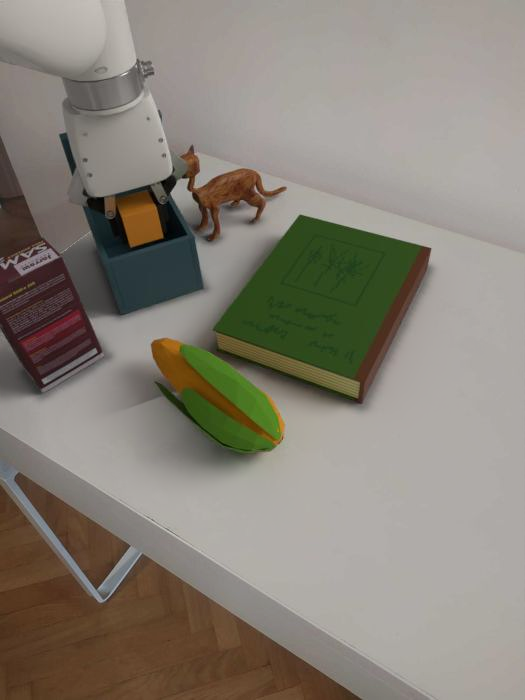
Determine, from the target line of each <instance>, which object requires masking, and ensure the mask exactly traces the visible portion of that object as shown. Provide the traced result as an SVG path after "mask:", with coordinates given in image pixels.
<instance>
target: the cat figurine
mask: <svg viewBox="0 0 525 700" xmlns="http://www.w3.org/2000/svg"><path fill="white" fill-rule="evenodd" d="M194 147H195V146H194V144H191V145H190V147H189V148H188V151H187V153H184V154H182V155H179V156H180V157H181V158H182V159H183V160H184V161H185V162H186V164H187V165H188V167H189V170H188V171H187V172H186V173H185V174H184V176H183V177H182V178H181V179H182V180H183V179H184V180H187V179H188V183H187V186H186V189H187V191H188V192H190V193H191V197H192V200H193V201H194V202H195V203H196V204H197V206H198V209H199V212H200V214H201V219H200V222H199V224H198V225H197V226H196V227H195V229H196V230H197V231H198V232H199V231H204V229H205V228H207V226H208V225H209V214H210V218H211V221H212V223H213V230H212V233H211V235H210V236H208V237H207V240H208V241H209V242H212V241H214V240H216V239H217V238H218V237H219V236H220V233H221V224H220V219H219V214H220V205H223V204H226V203H229V202H230V206H231V207H236V206H238V205H240V203H241V201H243V202H245V203H246V204H248V205H249V206H251V207H252V208H257V209H256V213H255V217H253V218H252V219H251V222H253V223H255V222H257V221H259V220H260V218H261V215H262V214H263V212H264V210H265V208H266V205H267V202H266V200H265V199H264V198H272V197H275V196H277V195H279V194H281V193H283V192H285V191H286V190H287V189H288V187H287V186H281V187H279V188H277V189H274V190H269V191H268V190H265V188H264V186H263V180H262V177H261V174H260V173H259V172H258V171H256V170H254V169H250V168H245V167H243V168H237V169H235V170H231V171H228V172H225V173H222V174H219V175H217V176H215V177H213V178H211V179H210V180H208V182H207V183H206V184H204V185H202V186H199V187H197V188H195V183H196V176H197V175H198V174H199V173H200V172H201V166H200V165H201V164H200V159H199V156H197V155H196V154H195V148H194ZM255 188H256V189H255ZM256 190H257V191H256ZM263 197H264V198H263ZM208 210H209V212H208Z"/></svg>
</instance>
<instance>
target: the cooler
mask: <svg viewBox="0 0 525 700" xmlns="http://www.w3.org/2000/svg"><path fill="white" fill-rule="evenodd" d="M145 190H148V192H149V194H150V193H151V192H152V189H151V187H150V185H146V186H143V187H139V188H135V189H132V190H128V191H125V192H121V193H117V194H115V199H116V198H119V197H123V196H127V195H130V194H134V193H137V192H141V191H145ZM150 196H151V195H150ZM81 207H82V209H83V212H84V215H85V218H86V221H87V224H88V227H89V230H90V232H91V236H92V238H93V241H94V244H95V247H96V250H97V253H98V256H99V258H100V261H101V264H102V266H103V269H104V272H105V274H106V277H107V280H108V283H109V285H110V288H111V291H112V293H113V296H114V299H115V301H116V305H117V307H118V311H119V312H120V315H121V316H122V315H126V314H129V313H132V312H135V311H138V310H142V309H145V308H147V307H151V306H154V305H157V304H160V303H165V302H167V301H170V300H172V299H176V298H180V297H182V296H184V295H188V294H191V293H194V292H198V291H200V290H204V283H203V276H202V271H201V265H200V258H199V254H198V253H199V252H198V249H197V248H198V247H197V241H196V238H195V235H194V233H193V231H192V229H191V227H190V225H189V224H188V222H187V221H186V219H185V216H184V215H183V214H182V212H181V210H180V208H179V207H178V204H177V202H175V199H174V198H173V196H172V194H171V193H170V194H169V196H168V201H167V202H166V207H167V211H168V216H169V221H168V222H165V224H166V228H167V232H166V233H163V232H162V233H163V238H161V239H158V240H155V241H151V242H148V243H144V244H141V245H138V246H134V247H130V245H129V243H127V244H125V245H123V243H122V241H121V238H120V236H116V237H114V235H113V232H112V230H111V226H110V223H109V220H108V218H106V216H105V215H104V214H101V213H99V212H97V211H95V210H93V209H90V208H89V207H88V206H82V205H81Z"/></svg>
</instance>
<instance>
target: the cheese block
mask: <svg viewBox="0 0 525 700" xmlns="http://www.w3.org/2000/svg"><path fill="white" fill-rule="evenodd" d="M115 206H116V207H117V209H118V211H119V213H120V216H121V218H122V222H123V225H124V229H125V232H126V235H127V239H128V243H129V245H130V247H134V246H138V245H141V244H144V243H148V242H151V241H155V240H158V239H161V238H163V233H162V229H161V224H160V220H159V216H158V211H157V207H156V206H155V204H154V202H153V200H152V198H151V196H150V194H149V192H148V190H145V191H141V192H137V193H134V194H130V195H127V196H123V197H119V198H116V199H115Z"/></svg>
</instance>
